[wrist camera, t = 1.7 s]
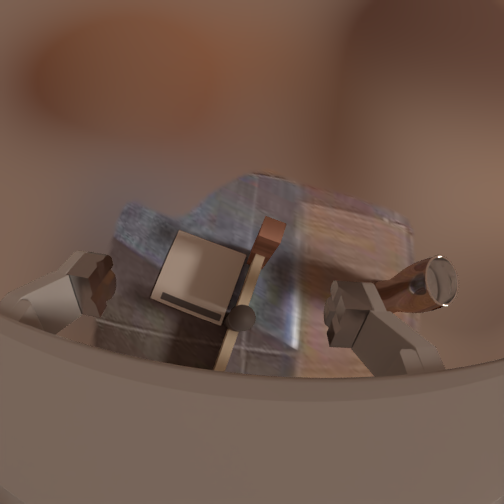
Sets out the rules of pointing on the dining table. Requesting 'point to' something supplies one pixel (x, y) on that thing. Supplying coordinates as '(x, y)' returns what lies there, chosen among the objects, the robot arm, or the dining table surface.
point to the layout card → (199, 277)
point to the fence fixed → (233, 332)
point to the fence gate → (261, 255)
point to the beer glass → (420, 286)
